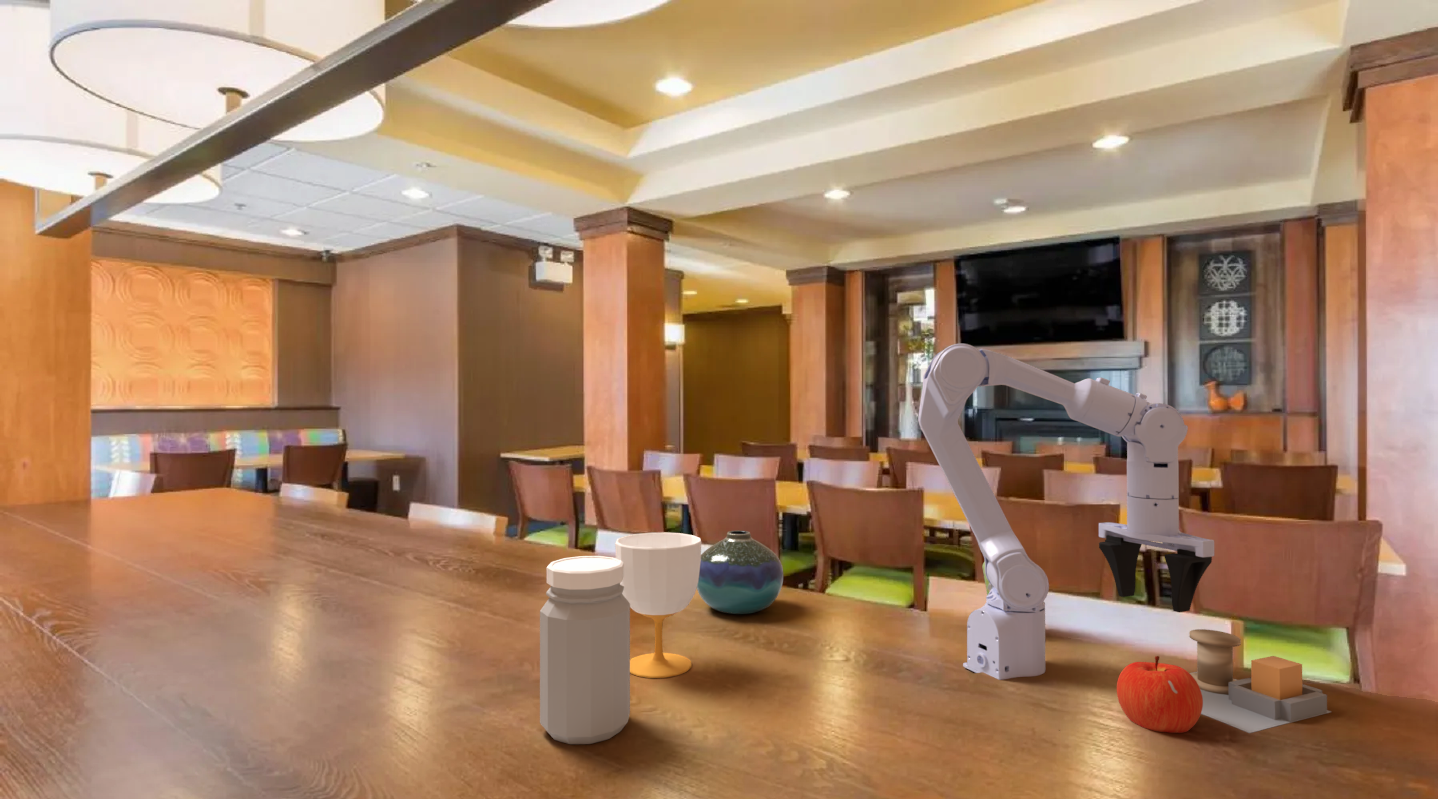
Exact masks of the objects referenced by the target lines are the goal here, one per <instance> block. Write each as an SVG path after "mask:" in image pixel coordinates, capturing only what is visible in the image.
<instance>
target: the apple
mask: <svg viewBox="0 0 1438 799" xmlns="http://www.w3.org/2000/svg"><path fill="white" fill-rule="evenodd" d="M1154 661H1155V662H1151V661H1148V662H1147V661H1134V662H1132V663H1130V664H1127V665H1126V666H1125V667H1124V668H1123V669H1122V670H1121V672H1120V674H1119V675H1118V679H1117V681H1116V696H1117V700H1118V703H1119V706H1120V707H1121V709H1122V712H1123V713H1124V714H1125V716H1126V717H1127V718H1128V719H1129V721H1131V722H1132V723H1134V724H1135V725H1138V726H1139V727H1142V728H1144V729H1147V730H1150V731H1155V732H1161V733H1171V734H1173V733H1175V734H1177V733H1178V734H1181V733H1187V732H1189V730H1191V729H1192V728H1193V727H1194V726H1195V725H1196V723H1197V722H1198V721H1199V719H1200V717H1201V715H1202V714H1201V712H1202V707H1203V698H1202V694H1201V690H1200V688H1199V685H1198V683H1197V682H1196V680H1195V679H1194V678H1193V676H1192V675H1191V674H1190V673H1191V672H1189V671H1187V670H1186V669H1184V668H1183V667H1181V666H1178V665H1175V664H1168V663H1164V662H1163V663H1162V662H1159V661H1160V655H1155V657H1154Z"/></svg>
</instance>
